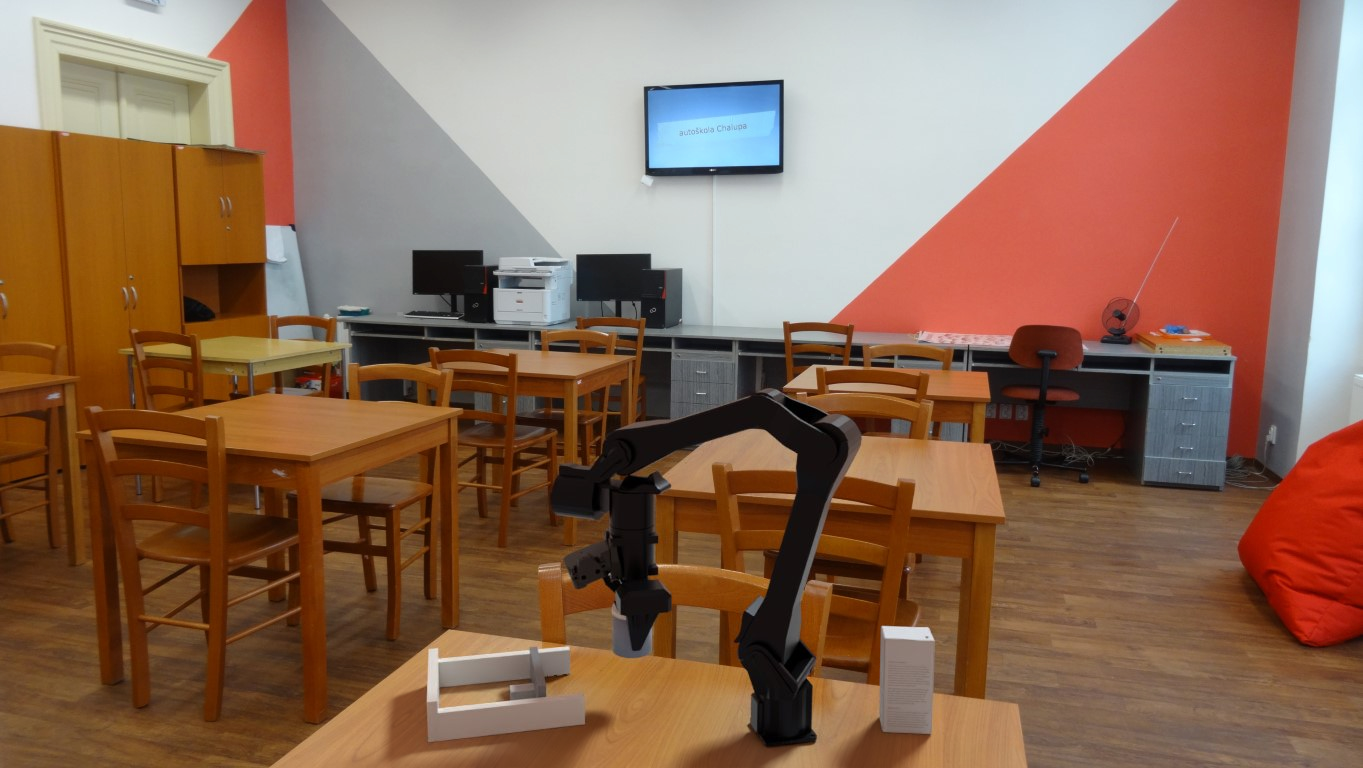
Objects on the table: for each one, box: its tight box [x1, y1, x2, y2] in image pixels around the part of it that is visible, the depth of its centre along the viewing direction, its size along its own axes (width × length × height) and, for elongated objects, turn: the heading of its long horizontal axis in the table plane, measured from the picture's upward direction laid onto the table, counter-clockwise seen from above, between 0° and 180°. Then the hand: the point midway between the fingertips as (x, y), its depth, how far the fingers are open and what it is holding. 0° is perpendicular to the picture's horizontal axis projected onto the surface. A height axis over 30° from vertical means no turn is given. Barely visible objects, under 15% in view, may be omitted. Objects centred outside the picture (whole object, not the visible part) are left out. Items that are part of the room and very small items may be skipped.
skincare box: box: [878, 625, 936, 735], centre depth 116 cm, size 6×4×12 cm
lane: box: [426, 645, 586, 743], centre depth 122 cm, size 19×15×5 cm
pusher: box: [509, 645, 547, 701], centre depth 122 cm, size 4×12×4 cm, turn 14°
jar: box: [611, 603, 653, 659], centre depth 122 cm, size 5×5×6 cm
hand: (632, 641), depth 122 cm, fingers closed on jar, 5 cm apart
